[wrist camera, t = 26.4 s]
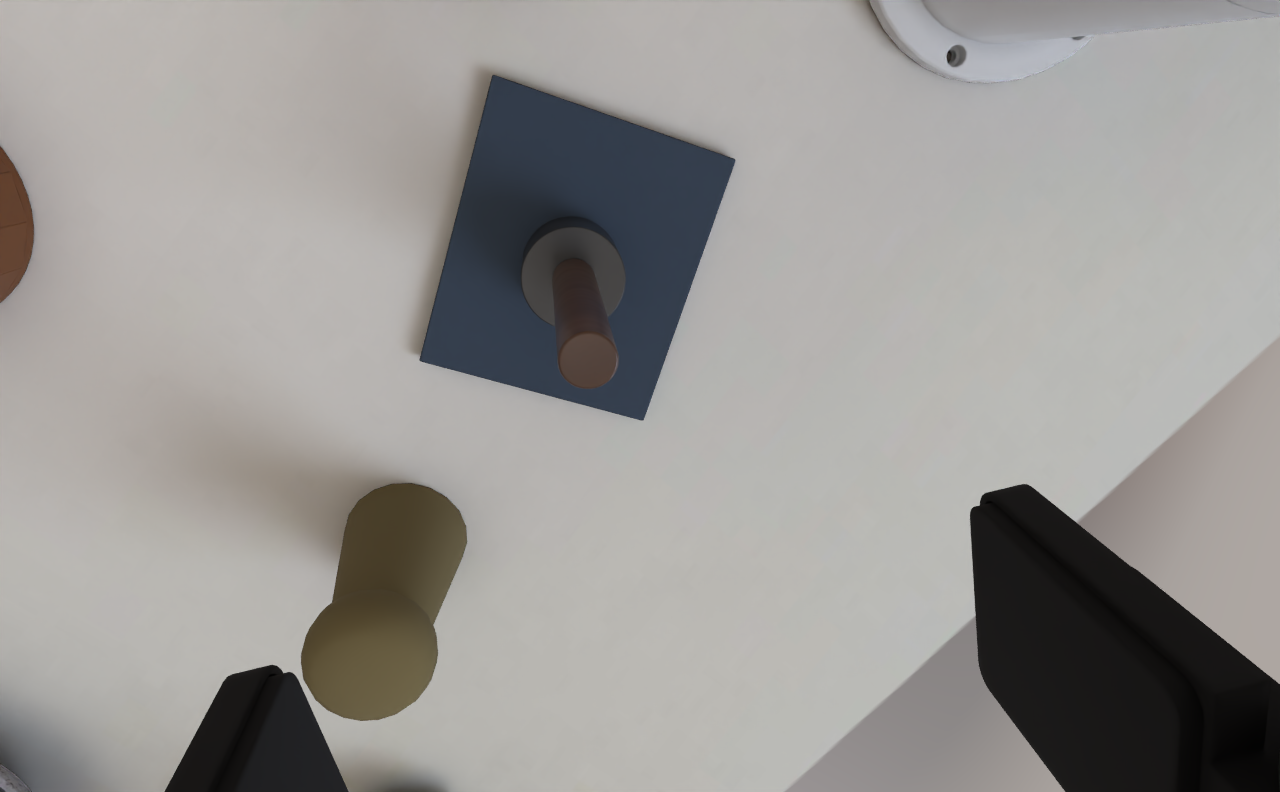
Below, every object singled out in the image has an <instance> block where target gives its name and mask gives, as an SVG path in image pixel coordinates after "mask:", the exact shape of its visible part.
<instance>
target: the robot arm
mask: <svg viewBox="0 0 1280 792" xmlns="http://www.w3.org/2000/svg"><path fill="white" fill-rule="evenodd" d="M869 1H870V4H871V7H872V8H873V10H874V12H875V14H876V16H877V18H878V20H879V21H880V23H881V25H882V27H883V29H884V30H885V32H886V33H887V34H888V35H889V36H890V38H891V39H892V40H893V41H894V42H895V44H896V45H897V46H898V47H899V48H900V50H901V51H902V52H904V53H905V54H906V55H908V56H909V57H910V58H911V59H913V60H914V61H915V62H917V63H918V64H919V65H920V66H922V67H924V68H926V69H928V70H930V71H932V72H935V73H937V74H939V75H941V76H943V77H946V78H950V79H955V80H960V81H965V82H969V83H973V82H977V83H995V82H1003V81H1012V80H1019V79H1022V78H1025V77H1028V76H1031V75H1034V74H1037V73H1040V72H1043V71H1045V70H1047V69H1049V68H1050V67H1052V66H1054V65H1056V64H1058V63H1060V62H1061V61H1063V60H1065V59H1067V58H1069V57H1070V56H1071V55H1072V54H1074V53H1075V52H1076V51H1078V50H1079V49H1080V48H1082V47H1083V46H1084V45H1086V44H1087V43H1088V42H1089V41H1090V40H1091V39H1092V38H1093V37H1094V36H1095V35H1098V34H1108V33H1118V32H1128V31H1138V30H1148V29H1158V28H1168V27H1178V26H1188V25H1198V24H1208V23H1218V22H1228V21H1238V20H1247V19H1257V18H1267V17H1277V16H1280V0H869ZM948 51H950V52H951V55H952V56H951V60H950V61H949V62H948V61H947V52H948ZM970 525H971V542H972V559H973V576H974V594H975V611H976V626H977V627H976V628H977V644H978V661H979V667H980V671H981V674H982V677H983V679H984V682H985V684H986V686H987V687H988V689H989V690H990V692H991V693H992V694H993V696H994V697H995V698H996V700H997V701H998V703H999V704H1000V705H1001V707H1002V708H1003V709H1004V711H1006V713H1007V715H1008V716H1009V717H1010V718H1011V720H1012V721H1013V723H1014V724H1015V725H1016V727H1017V728H1018V729H1019V731H1020V732H1021V733H1022V735H1023V736H1024V737H1025V738H1026V740H1027V741H1028V742H1029V744H1030V745H1031V746H1032V748H1033V749H1034V750H1035V752H1036V753H1037V754H1038V755H1039V757H1040V758H1041V760H1042V761H1043V762H1044V764H1045V765H1046V766H1047V768H1048V769H1049V770H1050V772H1051V773H1052V774H1053V776H1054V777H1055V778H1056V780H1057V781H1058V782H1059V784H1060V785H1061V786H1062V788H1063V789H1064V790H1065V792H1280V684H1278V683H1277V682H1276V681H1275V680H1273V679H1272V678H1271V677H1270V676H1269V675H1267V674H1266V673H1265V672H1263V671H1262V670H1261V669H1260V668H1258V667H1257V666H1256V665H1255V664H1253V663H1252V662H1251V661H1250V660H1249V659H1247V658H1246V657H1245V656H1243V655H1242V654H1241V653H1240V652H1239V651H1237V650H1236V649H1235V648H1234V647H1232V646H1231V645H1230V644H1229V643H1227V642H1226V641H1225V640H1224V639H1222V638H1221V637H1220V636H1219V635H1217V634H1216V633H1215V632H1213V631H1212V630H1211V629H1210V628H1209V627H1207V626H1206V625H1205V624H1204V623H1203V622H1201V621H1200V620H1199V619H1197V618H1196V617H1195V616H1194V615H1192V614H1191V613H1190V612H1189V611H1188V610H1186V609H1185V608H1184V607H1182V606H1181V605H1180V604H1179V603H1177V602H1176V601H1175V600H1174V599H1173V598H1171V597H1170V596H1169V595H1168V594H1166V593H1165V592H1164V591H1163V590H1161V589H1160V588H1159V587H1158V586H1156V585H1155V584H1154V583H1153V582H1151V581H1150V580H1149V579H1147V578H1146V577H1145V576H1144V575H1143V574H1141V573H1140V572H1139V571H1138V570H1136V569H1134V568H1133V567H1131V566H1129V565H1128V564H1127V563H1126V562H1124V561H1123V560H1122V559H1121V558H1119V557H1118V556H1117V555H1116V554H1115V553H1113V552H1112V551H1111V550H1110V549H1108V548H1107V547H1106V546H1104V545H1103V544H1102V543H1101V542H1099V541H1098V540H1097V539H1096V538H1095V537H1093V536H1092V535H1091V534H1090V533H1088V532H1087V531H1086V530H1085V529H1083V528H1082V527H1081V526H1080V525H1078V524H1077V523H1076V522H1075V521H1074V520H1072V519H1071V518H1070V517H1069V516H1067V515H1066V514H1065V513H1064V512H1062V511H1061V510H1060V509H1059V508H1057V507H1056V506H1055V505H1054V504H1052V503H1051V502H1050V501H1049V500H1047V499H1046V498H1045V497H1044V496H1042V495H1041V494H1040V493H1039V492H1037V491H1036V490H1035V489H1034V488H1033V487H1031V486H1029V485H1027V484H1021V485H1017V486H1013V487H1009V488H1005V489H1001V490H997V491H992V492H988V493H985V494H984V495H983V496H982V498H981V500H980V506H976V507H973V508H972V509H971V512H970ZM165 792H348V789H347V787H346V785H345V783H344V781H343V778H342V776H341V774H340V772H339V769H338V767H337V765H336V763H335V761H334V758H333V756H332V754H331V752H330V749H329V747H328V745H327V743H326V741H325V738H324V736H323V734H322V732H321V730H320V727H319V725H318V723H317V721H316V718H315V716H314V714H313V712H312V710H311V707H310V705H309V703H308V701H307V698H306V696H305V694H304V692H303V690H302V687H301V685H300V683H299V681H298V679H297V677H296V676H295V675H294V674H293V673H291V672H287V673H283V672H282V670H281V669H280V668H279V667H278V666H275V665H269V666H265V667H261V668H257V669H253V670H248V671H244V672H240V673H236V674H232V675H230V676H228V677H227V678H226V679H225V681H224V682H223V683H222V685H221V687H220V689H219V691H218V693H217V695H216V697H215V698H214V700H213V702H212V704H211V706H210V708H209V710H208V712H207V713H206V715H205V717H204V719H203V721H202V723H201V725H200V726H199V728H198V730H197V732H196V734H195V736H194V738H193V740H192V741H191V743H190V745H189V747H188V749H187V751H186V753H185V755H184V756H183V758H182V760H181V762H180V764H179V766H178V768H177V769H176V771H175V773H174V775H173V777H172V779H171V781H170V783H169V784H168V786H167V788H166V790H165Z"/></svg>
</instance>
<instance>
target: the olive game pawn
mask: <svg viewBox="0 0 1280 792" xmlns="http://www.w3.org/2000/svg"><path fill="white" fill-rule="evenodd" d="M466 544H467V536H466V525H465V523H464V521H463V519H462V516H461V514H460V512H459V510H458V509H457V508H456V507H455V506H454V505H453V504H452V503H451V502H450V500H449V499H448V498H447V497H445V496H443V495H441V494H440V493H438V492H436V491H434V490H433V489H431V488H428V487H424V486H420V485H415V484H391V485H388V486H385V487H382V488H378V489H375V490H373V491H372V492H370V493H369V494H367V495H366V496H365V497H363V498H362V499H360V500H359V501H358V502H357V504H356V505H355V507H354V508H353V510H352V511H351V512H350V514H349V516H348V520H347V524H346V528H345V532H344V538H343V543H342V549H341V555H340V560H339V566H338V572H337V577H336V583H335V589H334V594H333V600H332V603H331V604H330V605H328V606H327V607H326V608H325V609H324V610H323V611H322V612H321V613H320V614H319V616H318V617H317V619H316V620H315V621H314V623H313V624H312V626H311V627H310V629H309V631H308V633H307V635H306V638H305V642H304V646H303V649H302V653H301V665H302V672H303V679H304V681H305V683H306V684H307V686H308V688H309V689H310V691H311V693H312V695H313V696H314V698H315V700H316V701H318V702H319V703H320V704H321V705H322V706H323V707H325V708H326V709H327V710H328V711H330V712H333V713H335V714H337V715H339V716H341V717H343V718H349V719H354V720H360V721H365V720H379V719H382V718H385V717H389V716H392V715H395V714H397V713H398V712H400V711H401V710H403V709H404V708H406V707H407V706H409V705H410V704H412V703H413V702H415V701H416V700H417V699H418V698H419V696H420V695H421V694H422V692H423V691H424V690H425V689H426V687H427V686H428V684H429V682H430V681H431V679H432V676H433V672H434V669H435V666H436V663H437V656H438V649H437V637H436V633H435V629H434V626H433V624H434V622H435V620H436V617H437V615H438V613H439V610H440V608H441V606H442V603H443V601H444V599H445V596H446V594H447V592H448V589H449V587H450V585H451V582H452V580H453V578H454V576H455V573H456V571H457V569H458V566H459V564H460V562H461V559H462V557H463V553H464V550H465V547H466Z"/></svg>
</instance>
